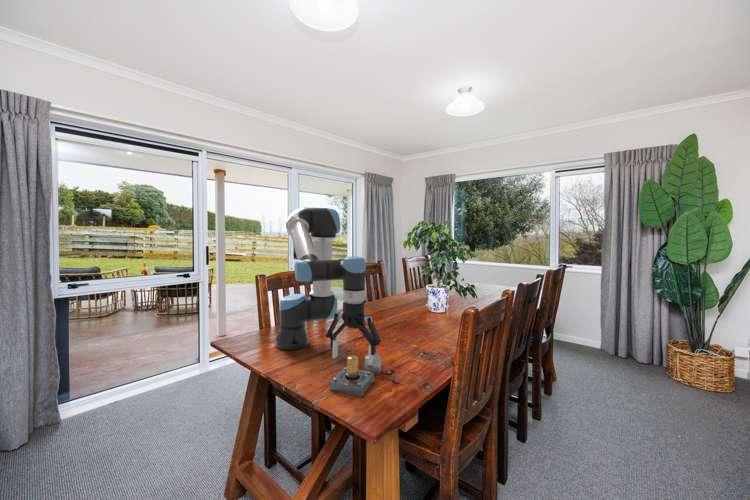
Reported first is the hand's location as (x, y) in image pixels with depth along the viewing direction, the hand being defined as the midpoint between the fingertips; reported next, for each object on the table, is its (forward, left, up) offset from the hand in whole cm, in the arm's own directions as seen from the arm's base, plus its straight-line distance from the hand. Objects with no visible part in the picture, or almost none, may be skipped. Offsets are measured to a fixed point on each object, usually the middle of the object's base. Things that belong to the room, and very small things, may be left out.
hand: (352, 360), depth 114 cm
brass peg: (0, 0, -9) cm, 9 cm away
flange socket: (0, 0, -9) cm, 9 cm away
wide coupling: (+3, +13, -9) cm, 16 cm away
